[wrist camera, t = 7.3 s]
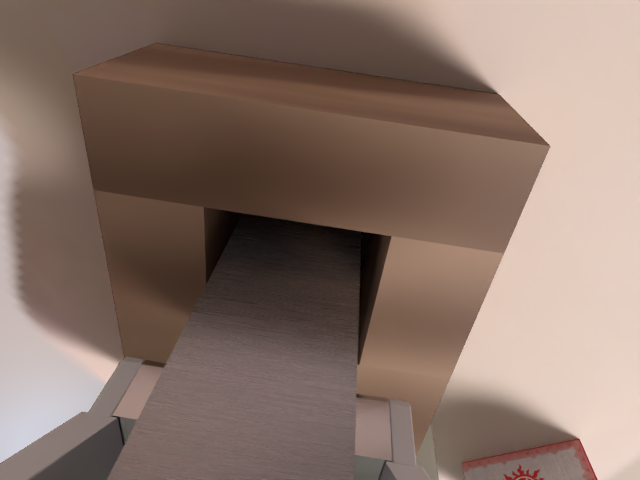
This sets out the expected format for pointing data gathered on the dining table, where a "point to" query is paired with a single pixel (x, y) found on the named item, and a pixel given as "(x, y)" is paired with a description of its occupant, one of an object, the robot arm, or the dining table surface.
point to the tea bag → (534, 464)
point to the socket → (306, 195)
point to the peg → (260, 365)
